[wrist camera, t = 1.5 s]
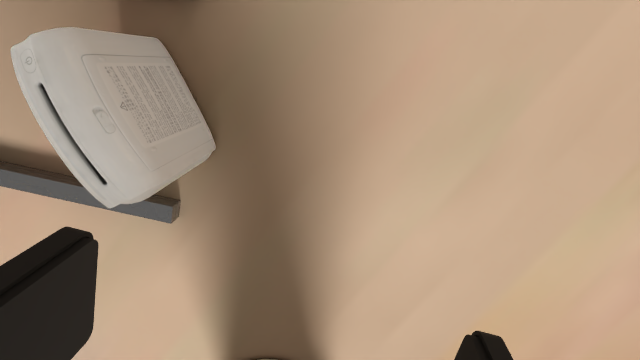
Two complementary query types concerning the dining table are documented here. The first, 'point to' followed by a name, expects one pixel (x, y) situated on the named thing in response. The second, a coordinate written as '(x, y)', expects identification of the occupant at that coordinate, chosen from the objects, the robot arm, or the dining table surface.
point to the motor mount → (81, 192)
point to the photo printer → (112, 110)
